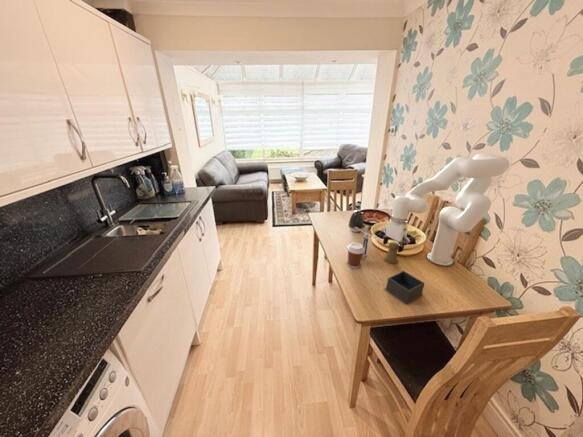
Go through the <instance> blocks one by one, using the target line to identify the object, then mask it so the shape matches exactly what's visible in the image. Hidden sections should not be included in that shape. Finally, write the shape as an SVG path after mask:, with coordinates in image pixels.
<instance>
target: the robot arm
mask: <svg viewBox="0 0 583 437" xmlns="http://www.w3.org/2000/svg"><path fill="white" fill-rule="evenodd" d="M510 165H511V164H510V160H509V159H508V158H507V157H504V156H501V155H496V154H491V153H485V152H481V153H477V154H475V155H474V156H473V157H468V156H458V157H455V158H454V159H453V160H451V162H449V163H448V164H446V165H445V167H443V168H442V169H441V170H440V171H439V172H437V174H435V176H434V177H432V178H429V179H427V180H424V181H423V182H421V183H419V184H417V185H416V186H415V187H413V188H412V189H411V190H409V191H408V193H406V195H398V196H395V198H394V202H393V206H392V207H393V208H392V212H391V217H390V219H389V221H388V223H387V225H386V227H382V228H381V234H382V236H383V241H382V242H383V243H382V244H383V245H387V244H388V243H389V239H392V240H394V241H396V242H398V245H399V248H398V249H397V253H401V252H403V251H404V248H405V246H407V245H409V243H411V240H410V238H409V237H407V235H408V223H409V220H408V216H409V213H414V214H423V213H426V212H427V211H428V209H429V207H430V205H429V203H428V201H427V200H426V199H424V198H423V197H424V196H426V195H427V194H430V193H433V192H441V191H446V190H448V189H450V188H452V186H453V185H454V184H455V183H457V182H458V181H459V180H460V179H461V178H463V177H464V178H466V179H469V181H468V182H467V183H466V184H465V186H464V187H463V189H462V190H461V191H460V192H459V193H458V194H457V196H456V197H455V203H456V205H457V206H459V207H460V208H461V209H464V210H461V209H460V208H458V207H455V206H453V205H451V206H445V207H443V208H442V209H441V211H440V212H439V215H438V227H437V230H436V234H435V238H434V241H433V245H432V247H431V248H432V249H431V252H428V253H427V256H426V257H427V259H428V261H430V262H432V263H433V264H435V265H438V266H443V267H444V266H446V267H448V266H452V265H453V262H454V260H453V259H452V255H453V254H454V253H455V252H454V249H455V245H456V242H457V239H458V236H459V233H461V234H464V233H468V232H470V231H471V230H472V229H474V228H475V226H477V224H478V223H479V222H480V221H481V220H482V219H483V218H484V217H485V216H486V215H487V213H488V212H489V211H490V209H491V206H492V201H491V199H490V197H489V196H487V195H485V193H486V192H487V190H488V189H489V188H490V186H491V185H492V182H493V178H494V177H499V176H501V175H504V174H505V173H507V171H508V170H509V168H510Z"/></svg>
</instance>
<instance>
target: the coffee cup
mask: <svg viewBox="0 0 583 437" xmlns="http://www.w3.org/2000/svg"><path fill="white" fill-rule="evenodd" d="M346 250H347V266H349V267H350V268H353V269H356V268H357V269H358V268H359V267H360V266H361V261H362V259H363V255H364V253H365V247H363V244H361V243H360V242H351V243H350V244H349V245H347V247H346ZM363 252H364V253H363ZM362 254H363V255H362Z"/></svg>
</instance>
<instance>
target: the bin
mask: <svg viewBox="0 0 583 437" xmlns="http://www.w3.org/2000/svg"><path fill="white" fill-rule="evenodd" d="M424 287H425V282H424V281H421V279H419V278H416V277H415V276H414V275H412V274H410V273H409V272H407V271H405V270H402V271H400V272H398V273H395V274H394V275H392V276H390V277H388V278H387V282H386V287H385V290H386V291H387V292H389V293H390V294H392V295H393V296H394V297H396V298H397V299H399V300H400V301H401V302H403V303H404V304H406V305H407V304H408V303H411V302H412V301H414V300H416V299H418V298H419V297H420V296H422V294H423V290H424Z"/></svg>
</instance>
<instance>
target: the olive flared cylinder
mask: <svg viewBox="0 0 583 437" xmlns="http://www.w3.org/2000/svg"><path fill="white" fill-rule="evenodd" d="M399 246H400V244H399V243H397V242H395V241H390V242H389V244H388V251H387V254H386V256H385V259H384V260H385V262H387V263H390V264H397V262H398V248H399Z"/></svg>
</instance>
